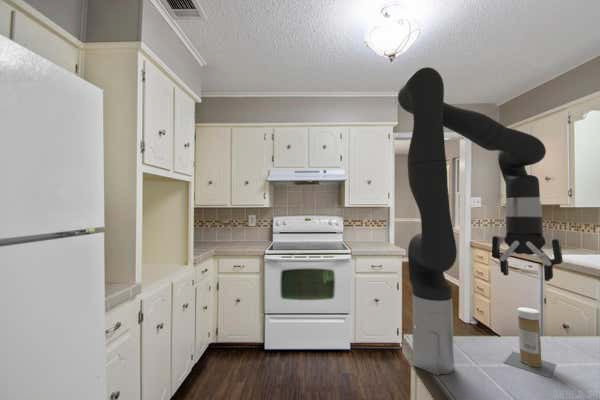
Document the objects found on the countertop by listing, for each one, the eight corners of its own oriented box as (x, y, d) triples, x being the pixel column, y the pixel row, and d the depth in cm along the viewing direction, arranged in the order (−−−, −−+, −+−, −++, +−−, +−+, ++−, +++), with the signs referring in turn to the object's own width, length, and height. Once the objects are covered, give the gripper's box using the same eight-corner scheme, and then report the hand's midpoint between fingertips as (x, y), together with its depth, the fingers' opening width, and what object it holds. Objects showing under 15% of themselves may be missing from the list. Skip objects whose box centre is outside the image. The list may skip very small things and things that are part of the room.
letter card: (549, 377, 66) (549, 377, 66) (503, 362, 73) (503, 362, 73) (556, 364, 72) (556, 364, 72) (512, 351, 79) (512, 351, 79)
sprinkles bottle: (544, 364, 72) (542, 310, 73) (538, 369, 70) (535, 313, 70) (523, 356, 76) (521, 305, 77) (516, 361, 73) (513, 308, 74)
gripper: (487, 215, 78) (489, 275, 77) (557, 215, 67) (560, 285, 66) (495, 215, 82) (497, 271, 82) (561, 215, 72) (565, 280, 71)
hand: (525, 277), depth 74 cm, fingers open, 8 cm apart
